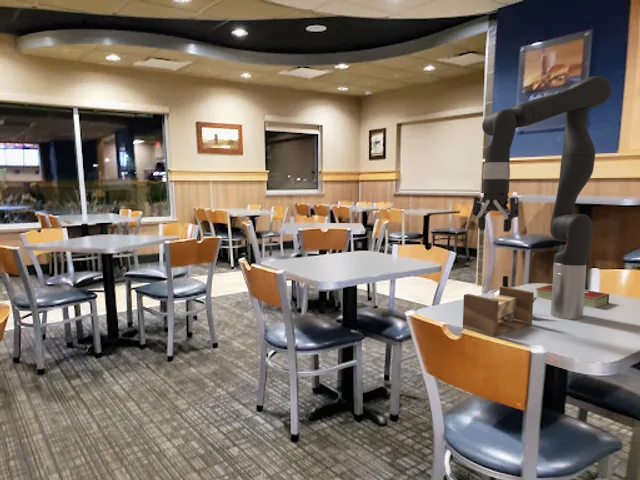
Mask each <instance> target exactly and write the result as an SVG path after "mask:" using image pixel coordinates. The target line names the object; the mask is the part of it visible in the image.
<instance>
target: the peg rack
mask: <svg viewBox="0 0 640 480" xmlns="http://www.w3.org/2000/svg"><path fill="white" fill-rule="evenodd" d="M499 290H500V293H499V295H503V296H509V297H515V298H516V311H514V312H512V313H509V314H507V315H505V316H503V317H501V318H498V303H499V301H498V300H494V299H491V298H489V297H484V296H480V295H475V294H472V293H467V294H466V293H465V294H463V306H462V307H463V309H462V328H463V329H466V330H469V331H472V330H473V332H475V331H476V332H475V333H479V334H482V333H483V334H482V335H485V334H486V335H485V336H489V337H492V338H493V337H494V338H495V337H496V336H500V335H504V334H507V333H509V332H513V331H516V330H519V329H522V328H525V327H529V326H532V324H533V312H534V311H533V310H534V309H533V308H534V303H533V297H535V295H534V294H535V293H534V291H530V290H529V291H528V290H523V289H520V288H519V289H518V288H514V287H509V286H508V287H503V286H500V287H499Z"/></svg>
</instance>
